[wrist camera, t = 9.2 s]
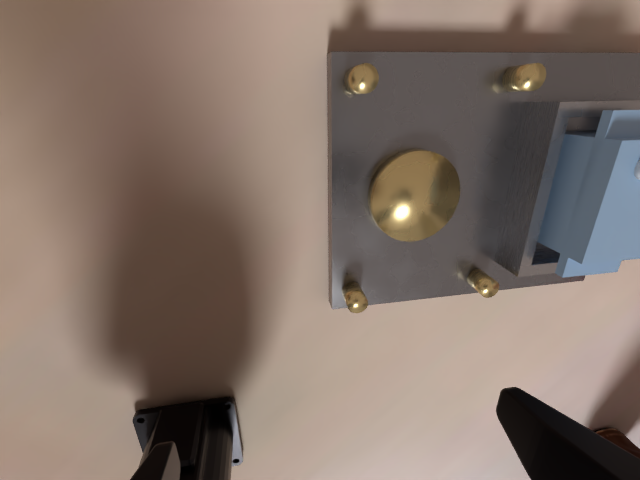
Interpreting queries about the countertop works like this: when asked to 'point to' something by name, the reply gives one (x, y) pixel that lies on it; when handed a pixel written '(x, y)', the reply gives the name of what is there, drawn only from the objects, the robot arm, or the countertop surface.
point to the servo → (596, 197)
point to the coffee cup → (620, 440)
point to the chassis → (453, 166)
